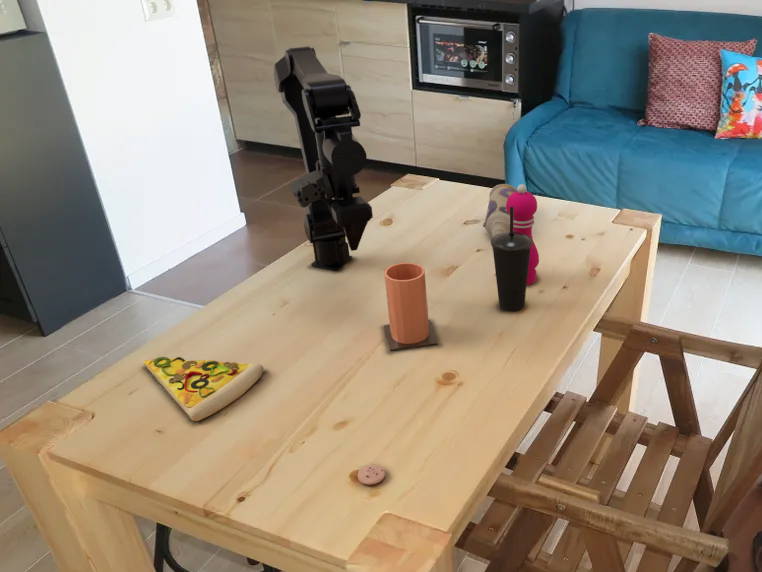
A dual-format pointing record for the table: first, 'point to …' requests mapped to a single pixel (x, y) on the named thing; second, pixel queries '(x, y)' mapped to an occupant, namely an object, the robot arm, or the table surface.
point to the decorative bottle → (498, 210)
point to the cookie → (371, 474)
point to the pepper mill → (525, 223)
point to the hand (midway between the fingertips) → (347, 240)
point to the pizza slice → (203, 382)
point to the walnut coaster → (400, 346)
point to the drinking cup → (511, 266)
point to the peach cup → (407, 302)
